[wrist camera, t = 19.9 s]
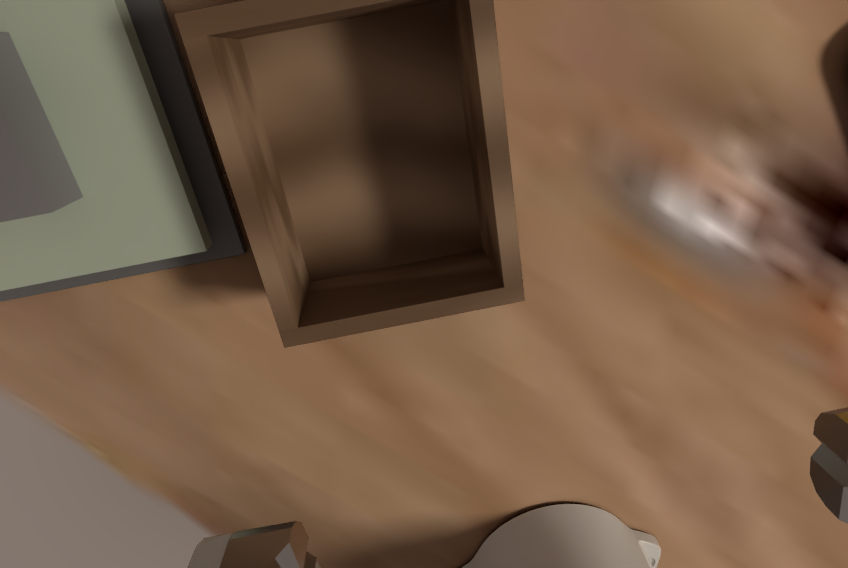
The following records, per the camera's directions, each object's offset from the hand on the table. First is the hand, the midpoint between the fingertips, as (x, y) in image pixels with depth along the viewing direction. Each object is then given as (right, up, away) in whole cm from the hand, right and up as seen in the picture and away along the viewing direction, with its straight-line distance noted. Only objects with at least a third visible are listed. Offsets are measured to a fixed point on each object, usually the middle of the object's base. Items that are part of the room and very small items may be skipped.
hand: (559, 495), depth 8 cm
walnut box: (-5, +14, +22) cm, 26 cm away
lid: (-23, +12, +20) cm, 33 cm away
